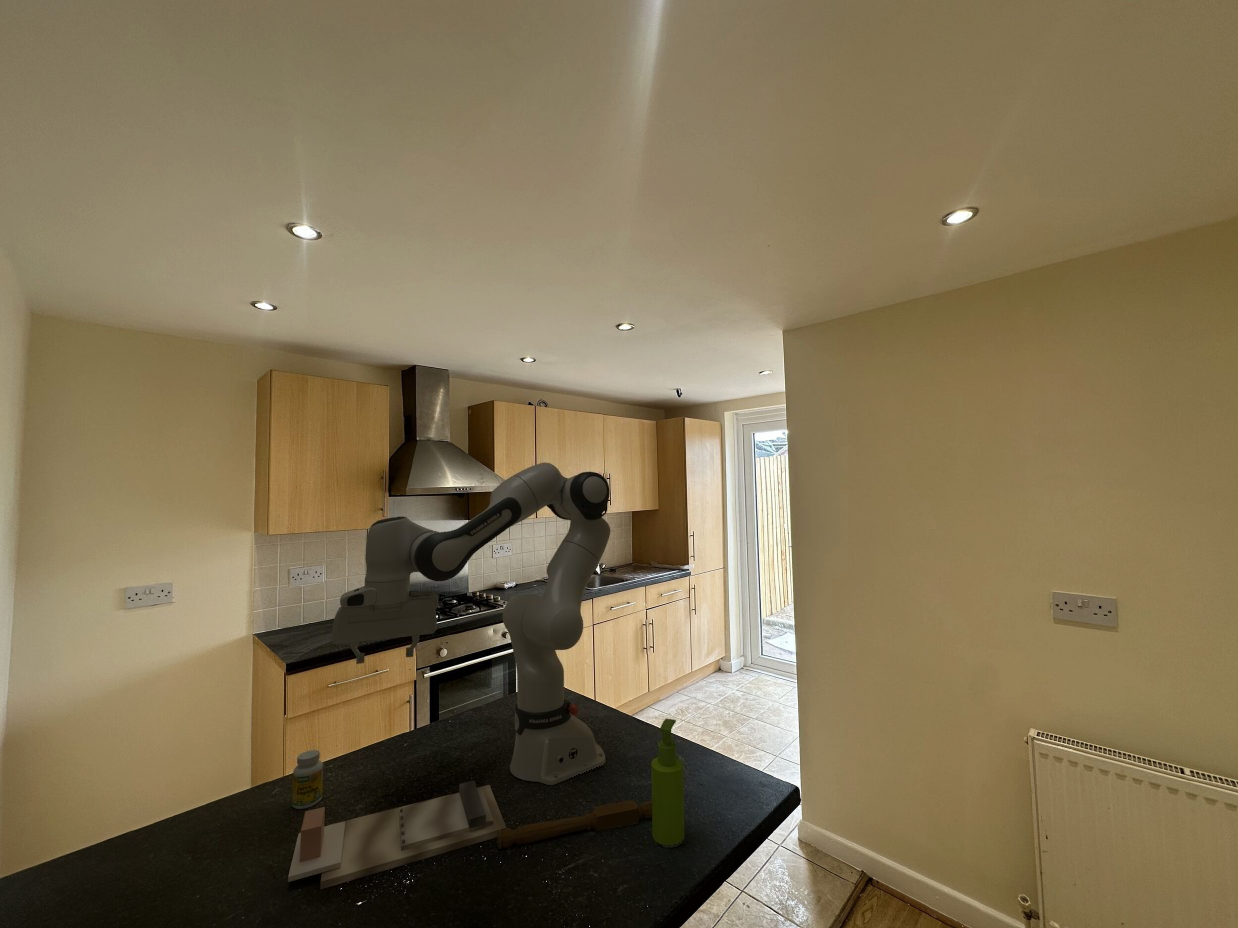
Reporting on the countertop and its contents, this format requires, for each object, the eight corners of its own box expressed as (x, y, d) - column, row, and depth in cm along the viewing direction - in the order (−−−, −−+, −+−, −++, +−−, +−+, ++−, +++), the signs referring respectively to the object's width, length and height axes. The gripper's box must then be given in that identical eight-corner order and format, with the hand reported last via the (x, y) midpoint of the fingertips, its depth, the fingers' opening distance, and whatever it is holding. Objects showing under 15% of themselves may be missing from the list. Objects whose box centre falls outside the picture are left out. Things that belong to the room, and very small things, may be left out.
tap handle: (497, 825, 91) (650, 795, 100) (497, 842, 91) (650, 812, 100) (498, 835, 89) (656, 804, 97) (498, 854, 88) (656, 821, 97)
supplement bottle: (321, 791, 108) (323, 745, 108) (322, 804, 103) (324, 755, 104) (291, 800, 105) (293, 752, 105) (291, 813, 100) (293, 763, 101)
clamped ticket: (489, 790, 107) (489, 772, 108) (506, 834, 93) (506, 813, 93) (329, 831, 94) (329, 811, 95) (320, 889, 80) (321, 865, 80)
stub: (344, 825, 94) (346, 793, 94) (340, 866, 83) (341, 830, 84) (298, 837, 91) (300, 803, 91) (287, 881, 80) (289, 843, 80)
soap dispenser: (688, 827, 94) (686, 718, 96) (680, 851, 88) (678, 733, 90) (658, 821, 96) (656, 714, 98) (648, 844, 90) (647, 729, 91)
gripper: (437, 587, 114) (435, 649, 112) (334, 594, 105) (331, 662, 104) (440, 591, 108) (438, 656, 107) (331, 599, 99) (329, 671, 98)
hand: (385, 659), depth 105 cm, fingers open, 8 cm apart
